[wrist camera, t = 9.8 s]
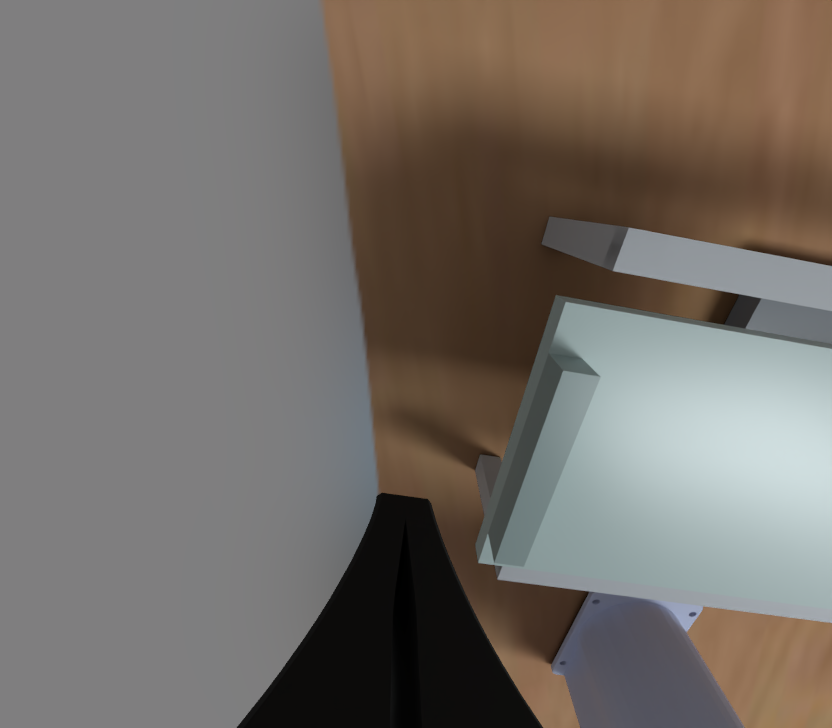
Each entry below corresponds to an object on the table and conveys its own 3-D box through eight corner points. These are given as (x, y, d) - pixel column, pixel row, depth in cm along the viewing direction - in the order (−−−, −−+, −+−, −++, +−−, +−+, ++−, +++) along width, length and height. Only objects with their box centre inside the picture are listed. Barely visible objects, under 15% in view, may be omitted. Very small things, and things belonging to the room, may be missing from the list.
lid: (829, 592, 16) (882, 644, 14) (475, 544, 15) (483, 593, 13) (1020, 377, 12) (1130, 410, 10) (556, 295, 11) (583, 314, 9)
